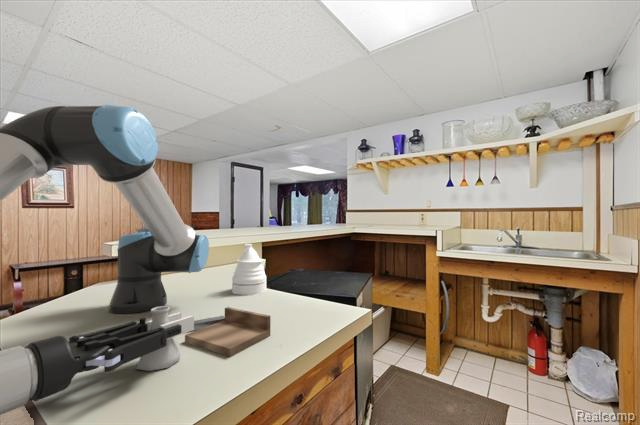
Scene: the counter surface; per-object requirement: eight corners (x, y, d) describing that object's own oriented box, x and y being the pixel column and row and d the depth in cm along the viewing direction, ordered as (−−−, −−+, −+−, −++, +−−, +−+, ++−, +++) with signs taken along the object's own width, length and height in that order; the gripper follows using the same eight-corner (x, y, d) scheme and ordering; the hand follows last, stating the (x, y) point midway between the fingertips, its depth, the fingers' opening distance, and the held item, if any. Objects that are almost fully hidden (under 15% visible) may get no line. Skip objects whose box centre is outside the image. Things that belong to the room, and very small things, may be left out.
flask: (149, 354, 57) (150, 303, 57) (186, 352, 57) (187, 302, 58) (127, 373, 49) (128, 315, 50) (170, 371, 50) (171, 313, 50)
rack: (184, 342, 62) (185, 321, 62) (227, 324, 73) (227, 307, 73) (230, 356, 55) (230, 333, 55) (270, 335, 66) (270, 315, 66)
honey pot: (262, 294, 103) (262, 245, 104) (227, 294, 103) (227, 245, 104) (269, 286, 116) (269, 242, 117) (237, 286, 116) (238, 242, 117)
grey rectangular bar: (181, 331, 69) (181, 322, 70) (223, 323, 75) (223, 315, 75) (182, 334, 67) (182, 326, 67) (225, 326, 73) (225, 318, 73)
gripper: (6, 385, 42) (162, 331, 62) (50, 423, 34) (213, 348, 54) (8, 333, 42) (162, 297, 62) (52, 359, 34) (213, 308, 54)
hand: (186, 320), depth 58 cm, fingers closed on flask, 3 cm apart
